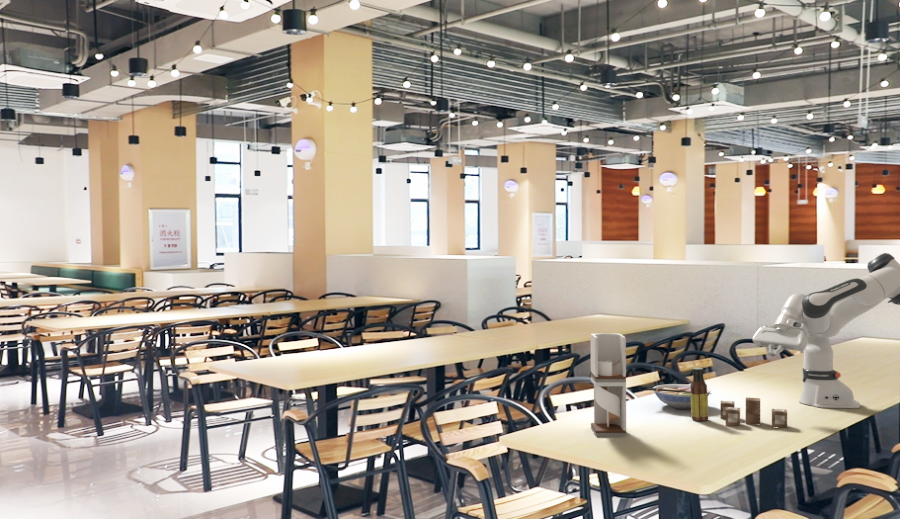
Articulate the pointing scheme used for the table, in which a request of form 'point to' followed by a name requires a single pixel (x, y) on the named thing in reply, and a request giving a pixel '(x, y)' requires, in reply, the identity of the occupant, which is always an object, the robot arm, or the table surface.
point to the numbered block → (779, 418)
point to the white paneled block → (723, 407)
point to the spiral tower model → (609, 383)
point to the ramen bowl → (675, 394)
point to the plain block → (752, 410)
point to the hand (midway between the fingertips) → (772, 355)
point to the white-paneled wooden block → (732, 416)
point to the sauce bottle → (699, 396)
